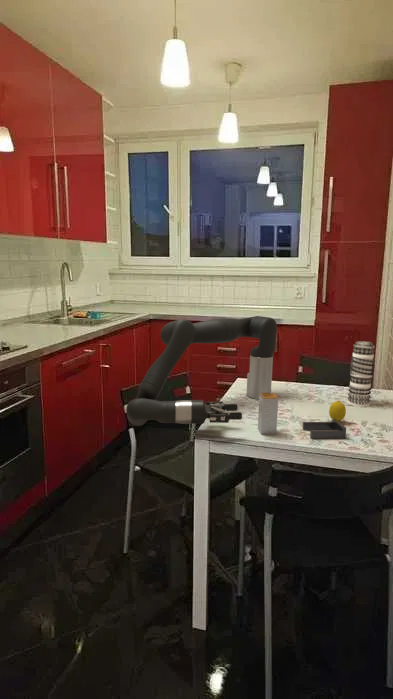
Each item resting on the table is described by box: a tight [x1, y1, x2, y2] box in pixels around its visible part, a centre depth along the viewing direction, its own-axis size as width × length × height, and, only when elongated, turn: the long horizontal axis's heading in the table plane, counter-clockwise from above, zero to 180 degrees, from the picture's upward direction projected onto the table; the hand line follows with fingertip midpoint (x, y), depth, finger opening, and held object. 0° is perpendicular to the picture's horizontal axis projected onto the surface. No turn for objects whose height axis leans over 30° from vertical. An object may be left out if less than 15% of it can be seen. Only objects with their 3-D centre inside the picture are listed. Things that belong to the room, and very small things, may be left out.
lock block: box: [257, 392, 279, 436], centre depth 148 cm, size 5×5×13 cm
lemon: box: [328, 400, 347, 422], centre depth 159 cm, size 6×6×8 cm
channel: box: [301, 418, 347, 440], centre depth 148 cm, size 11×9×4 cm
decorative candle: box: [347, 340, 376, 408], centre depth 180 cm, size 9×9×25 cm
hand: (239, 411), depth 147 cm, fingers open, 8 cm apart
